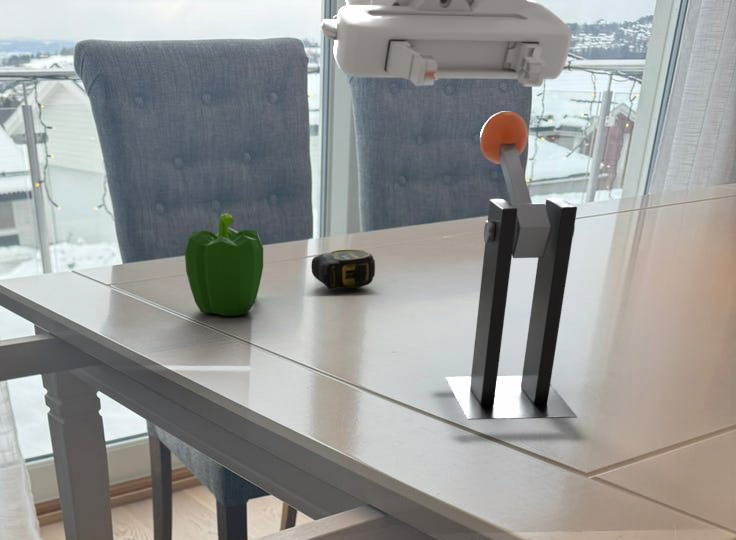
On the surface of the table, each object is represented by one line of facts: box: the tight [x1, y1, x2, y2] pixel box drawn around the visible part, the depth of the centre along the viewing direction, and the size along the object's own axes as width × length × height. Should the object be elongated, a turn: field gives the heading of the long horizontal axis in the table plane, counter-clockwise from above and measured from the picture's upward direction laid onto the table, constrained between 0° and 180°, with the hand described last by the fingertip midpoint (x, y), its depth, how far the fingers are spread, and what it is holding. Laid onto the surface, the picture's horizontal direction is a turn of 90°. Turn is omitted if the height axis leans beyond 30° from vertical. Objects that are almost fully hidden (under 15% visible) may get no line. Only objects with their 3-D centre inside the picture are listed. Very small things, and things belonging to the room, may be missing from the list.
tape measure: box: [311, 249, 376, 290], centre depth 108 cm, size 7×7×4 cm
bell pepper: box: [184, 213, 264, 317], centre depth 98 cm, size 8×8×10 cm
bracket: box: [445, 197, 578, 420], centre depth 68 cm, size 10×8×15 cm
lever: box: [479, 110, 552, 259], centre depth 69 cm, size 15×4×4 cm, turn 179°
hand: (482, 75), depth 75 cm, fingers open, 8 cm apart
